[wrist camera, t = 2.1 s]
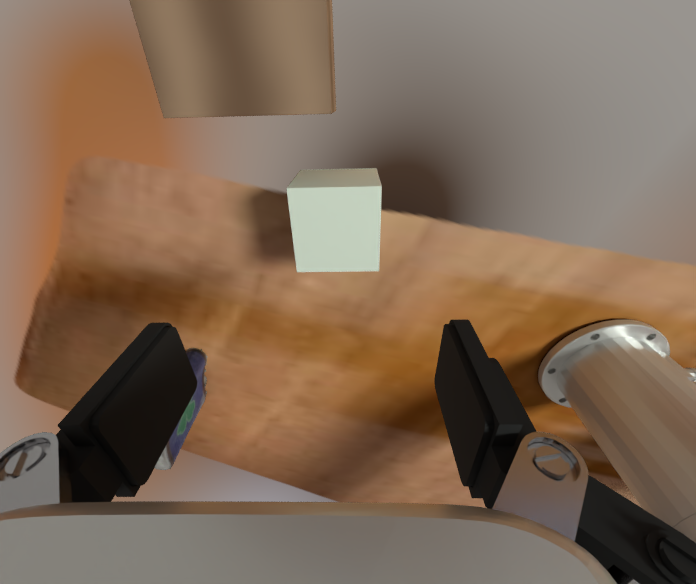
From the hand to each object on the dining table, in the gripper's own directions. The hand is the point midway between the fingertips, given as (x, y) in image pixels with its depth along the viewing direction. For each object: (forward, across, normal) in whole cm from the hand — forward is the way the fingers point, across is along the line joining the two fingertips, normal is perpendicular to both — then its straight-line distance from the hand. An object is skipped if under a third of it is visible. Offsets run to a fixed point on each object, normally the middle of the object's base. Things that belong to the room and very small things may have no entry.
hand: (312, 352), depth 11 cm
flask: (+18, +18, +20) cm, 32 cm away
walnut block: (+18, +5, -12) cm, 22 cm away
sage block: (+18, 0, 0) cm, 18 cm away
